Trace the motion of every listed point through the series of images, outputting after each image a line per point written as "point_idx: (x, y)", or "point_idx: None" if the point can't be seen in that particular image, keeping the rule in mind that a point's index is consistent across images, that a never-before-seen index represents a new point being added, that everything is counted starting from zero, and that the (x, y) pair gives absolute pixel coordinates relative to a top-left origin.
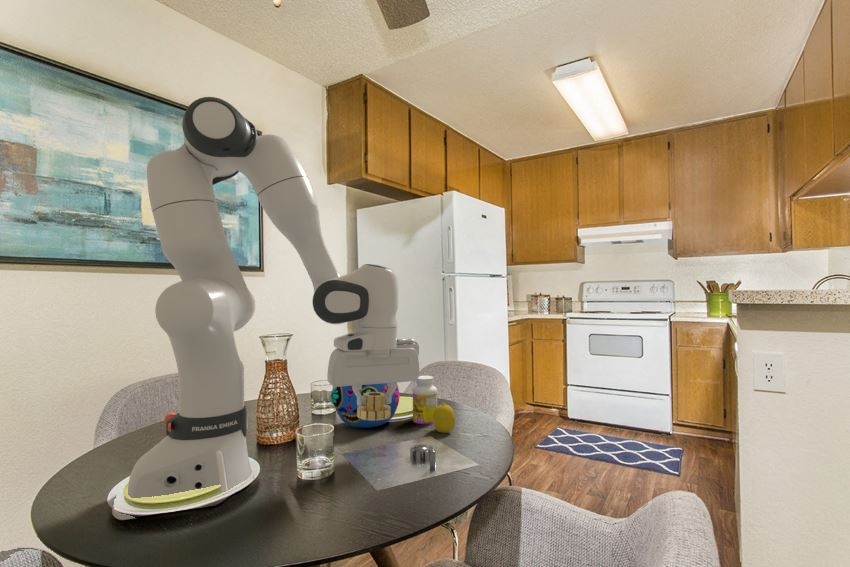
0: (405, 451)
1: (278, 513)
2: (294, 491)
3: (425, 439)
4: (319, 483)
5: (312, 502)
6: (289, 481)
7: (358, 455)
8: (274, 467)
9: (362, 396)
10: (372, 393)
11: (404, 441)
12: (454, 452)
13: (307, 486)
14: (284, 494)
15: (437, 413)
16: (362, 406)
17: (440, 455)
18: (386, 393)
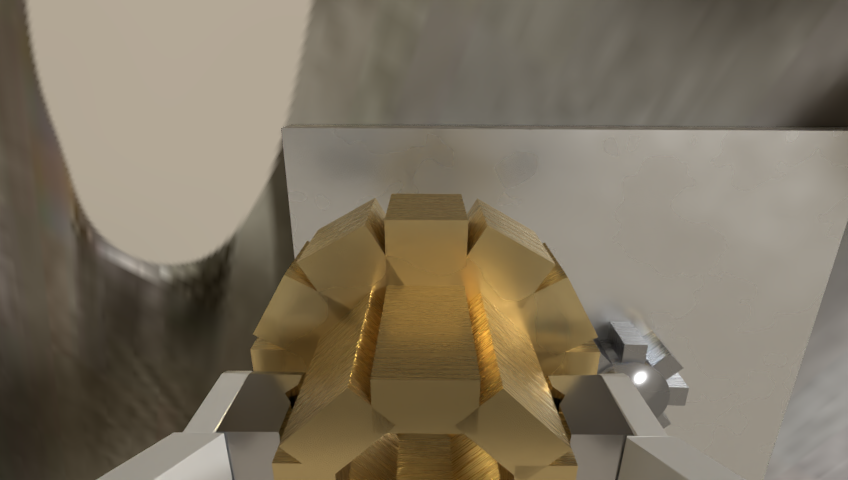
0: (589, 273)
1: (34, 437)
2: (71, 332)
3: (804, 167)
4: (162, 317)
5: (132, 427)
6: (46, 242)
7: (356, 199)
8: None
9: (259, 451)
10: (427, 424)
11: (678, 132)
12: (773, 397)
13: (117, 318)
14: (38, 336)
15: None
16: (317, 315)
17: (694, 394)
18: (629, 458)
